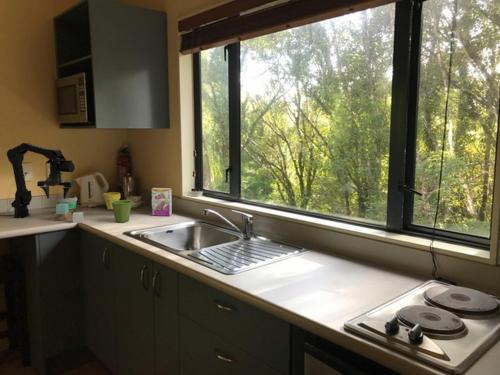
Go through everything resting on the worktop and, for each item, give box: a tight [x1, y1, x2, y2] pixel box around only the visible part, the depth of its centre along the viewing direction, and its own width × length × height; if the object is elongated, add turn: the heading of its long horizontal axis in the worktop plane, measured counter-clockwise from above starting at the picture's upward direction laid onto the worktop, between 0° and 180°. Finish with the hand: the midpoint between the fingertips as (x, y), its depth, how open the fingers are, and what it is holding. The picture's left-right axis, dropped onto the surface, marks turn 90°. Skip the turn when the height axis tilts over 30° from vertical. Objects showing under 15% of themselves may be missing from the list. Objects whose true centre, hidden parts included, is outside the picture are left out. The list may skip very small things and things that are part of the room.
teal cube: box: [55, 203, 69, 214], centre depth 241 cm, size 5×5×5 cm
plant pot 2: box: [111, 199, 134, 223], centre depth 237 cm, size 12×12×11 cm
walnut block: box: [52, 212, 73, 222], centre depth 241 cm, size 7×7×4 cm
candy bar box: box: [150, 187, 173, 217], centre depth 254 cm, size 11×5×16 cm, turn 84°
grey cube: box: [72, 211, 85, 224], centre depth 235 cm, size 5×5×5 cm
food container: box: [56, 195, 78, 215], centre depth 256 cm, size 12×6×10 cm, turn 143°
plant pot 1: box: [103, 192, 121, 210], centre depth 276 cm, size 10×10×10 cm
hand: (56, 198), depth 243 cm, fingers open, 9 cm apart
